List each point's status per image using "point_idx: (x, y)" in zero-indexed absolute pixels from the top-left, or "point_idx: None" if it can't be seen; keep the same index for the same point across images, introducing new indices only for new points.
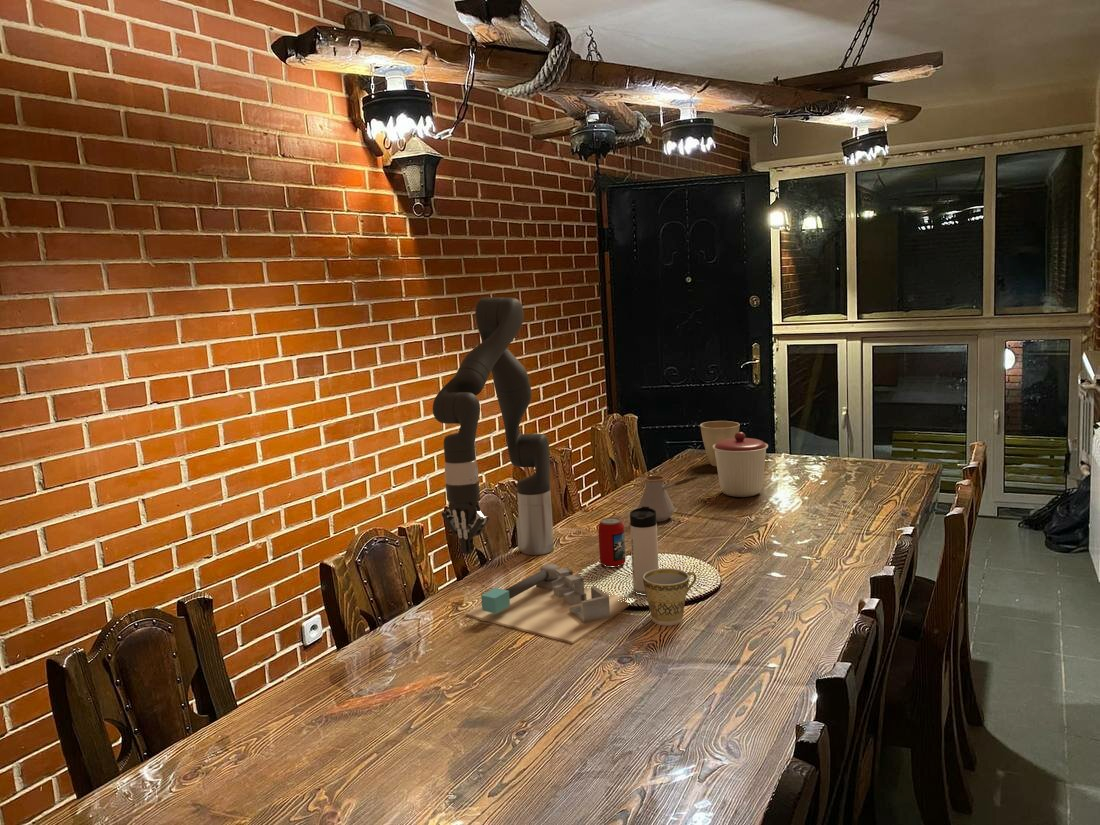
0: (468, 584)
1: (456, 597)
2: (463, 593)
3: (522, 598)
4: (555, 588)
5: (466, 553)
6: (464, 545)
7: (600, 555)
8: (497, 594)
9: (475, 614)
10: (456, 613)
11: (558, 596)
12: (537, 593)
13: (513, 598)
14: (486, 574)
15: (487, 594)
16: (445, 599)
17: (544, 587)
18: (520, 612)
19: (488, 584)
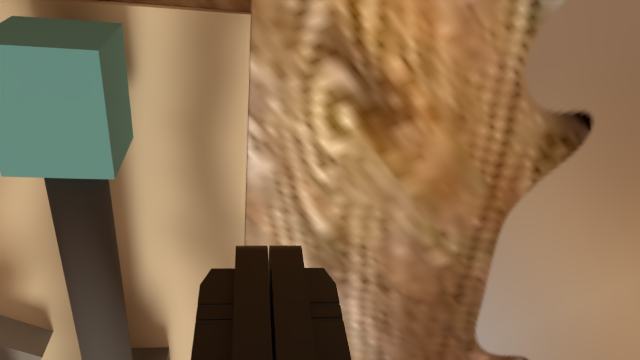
0: (449, 273)
1: (426, 162)
2: (420, 204)
3: (132, 255)
4: (22, 349)
5: (237, 247)
6: (259, 310)
7: None
8: (13, 104)
9: (195, 27)
10: (316, 16)
11: (6, 320)
12: None
13: (167, 240)
14: (432, 354)
15: (72, 78)
16: (463, 125)
17: None
18: None
19: (372, 301)
